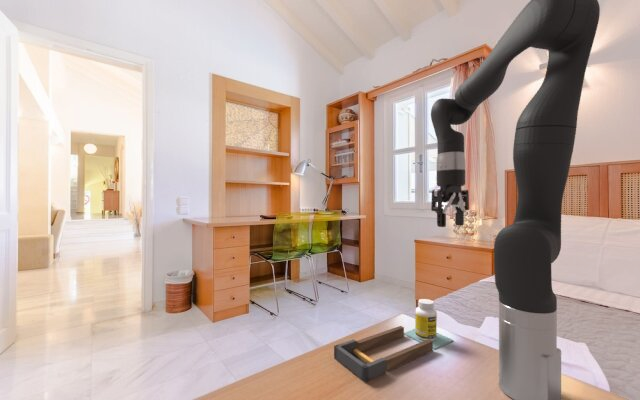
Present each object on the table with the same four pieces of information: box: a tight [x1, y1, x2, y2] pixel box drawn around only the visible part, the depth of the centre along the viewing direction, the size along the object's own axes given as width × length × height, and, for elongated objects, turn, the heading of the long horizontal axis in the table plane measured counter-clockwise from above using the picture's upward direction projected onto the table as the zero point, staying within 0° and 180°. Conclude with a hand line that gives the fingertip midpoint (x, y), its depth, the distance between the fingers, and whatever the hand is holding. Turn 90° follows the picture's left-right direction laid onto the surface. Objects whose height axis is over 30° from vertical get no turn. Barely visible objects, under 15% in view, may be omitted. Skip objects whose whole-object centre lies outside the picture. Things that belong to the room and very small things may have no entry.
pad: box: [404, 328, 454, 351], centre depth 80 cm, size 10×8×1 cm
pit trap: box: [333, 338, 387, 383], centre depth 67 cm, size 11×6×3 cm, turn 33°
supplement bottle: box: [414, 298, 438, 341], centre depth 79 cm, size 5×5×10 cm
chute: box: [356, 325, 434, 373], centre depth 73 cm, size 10×16×2 cm, turn 123°
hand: (450, 226), depth 84 cm, fingers open, 8 cm apart
